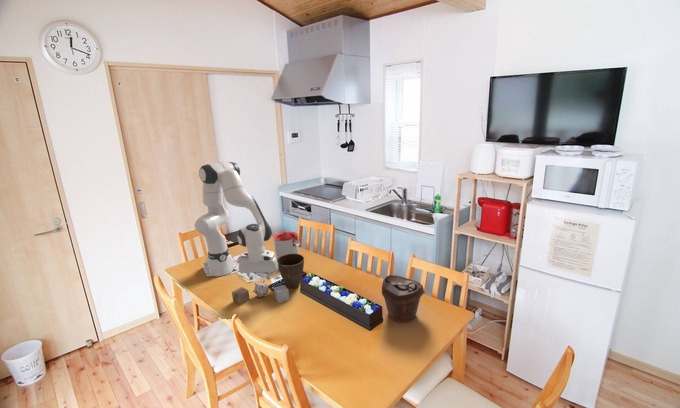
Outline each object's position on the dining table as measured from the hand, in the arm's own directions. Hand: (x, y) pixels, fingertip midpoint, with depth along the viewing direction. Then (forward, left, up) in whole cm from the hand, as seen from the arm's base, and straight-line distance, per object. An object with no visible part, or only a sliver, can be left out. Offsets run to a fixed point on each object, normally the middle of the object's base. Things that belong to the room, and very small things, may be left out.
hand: (260, 279), depth 176 cm
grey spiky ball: (0, 0, -10) cm, 10 cm away
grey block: (+10, +6, -10) cm, 15 cm away
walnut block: (-4, -10, -10) cm, 15 cm away
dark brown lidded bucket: (+64, +38, -10) cm, 75 cm away
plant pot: (+3, +18, -10) cm, 21 cm away
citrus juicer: (-26, +35, -10) cm, 45 cm away
